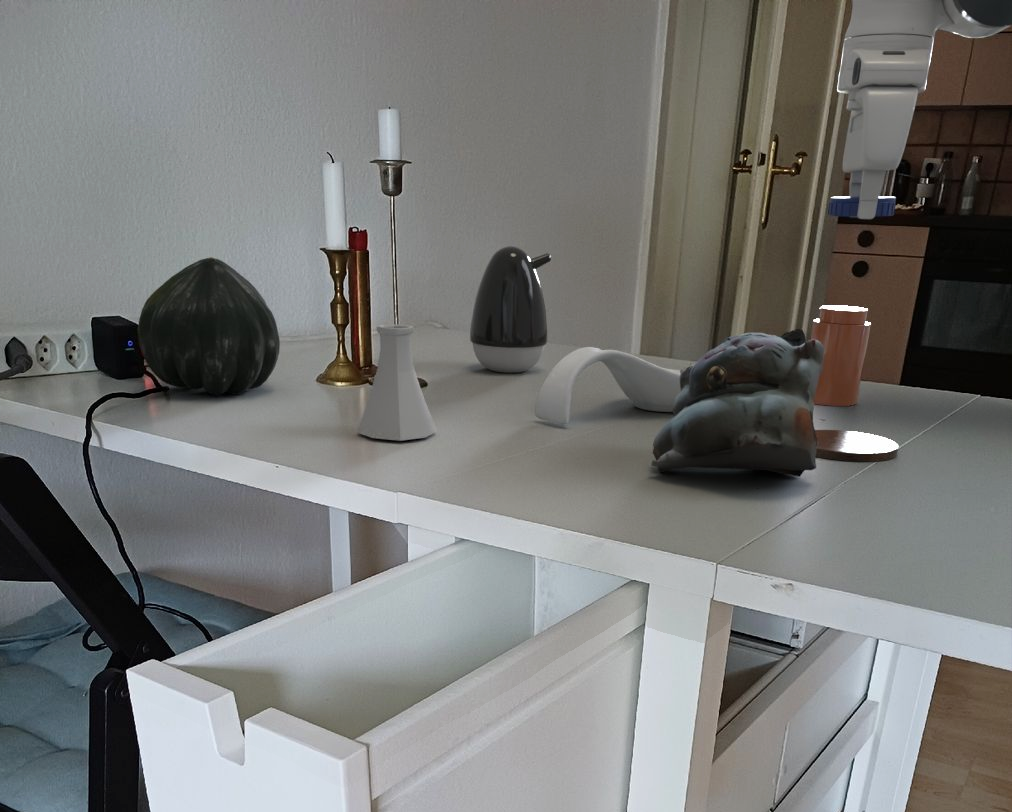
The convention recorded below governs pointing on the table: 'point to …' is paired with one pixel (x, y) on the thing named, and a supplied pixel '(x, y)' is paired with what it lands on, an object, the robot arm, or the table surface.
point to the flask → (396, 392)
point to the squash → (209, 330)
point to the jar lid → (850, 204)
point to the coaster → (854, 446)
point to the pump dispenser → (510, 312)
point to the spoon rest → (632, 374)
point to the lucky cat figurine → (746, 407)
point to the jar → (841, 353)
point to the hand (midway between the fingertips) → (860, 218)
